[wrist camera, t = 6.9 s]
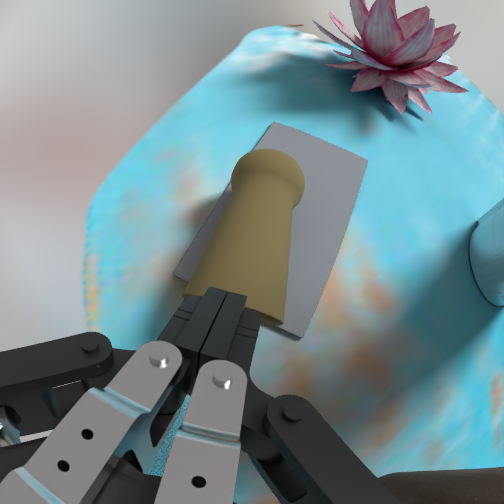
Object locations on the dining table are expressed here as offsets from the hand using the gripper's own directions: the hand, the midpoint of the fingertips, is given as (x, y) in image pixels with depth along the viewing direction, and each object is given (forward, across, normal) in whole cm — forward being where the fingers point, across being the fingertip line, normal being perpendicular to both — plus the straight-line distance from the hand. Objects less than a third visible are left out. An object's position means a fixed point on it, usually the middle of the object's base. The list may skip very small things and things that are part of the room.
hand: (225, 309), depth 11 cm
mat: (+13, -2, -2) cm, 13 cm away
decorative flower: (+31, -11, -19) cm, 38 cm away
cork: (+4, 0, +3) cm, 5 cm away
